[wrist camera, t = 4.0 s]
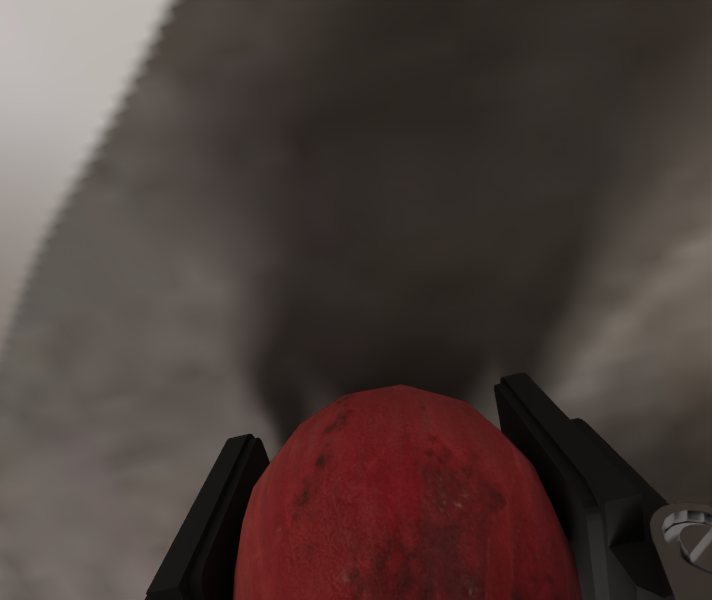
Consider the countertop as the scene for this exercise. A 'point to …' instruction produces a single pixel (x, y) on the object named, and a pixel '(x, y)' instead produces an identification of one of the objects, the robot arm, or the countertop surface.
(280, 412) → the countertop surface
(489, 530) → the onion
